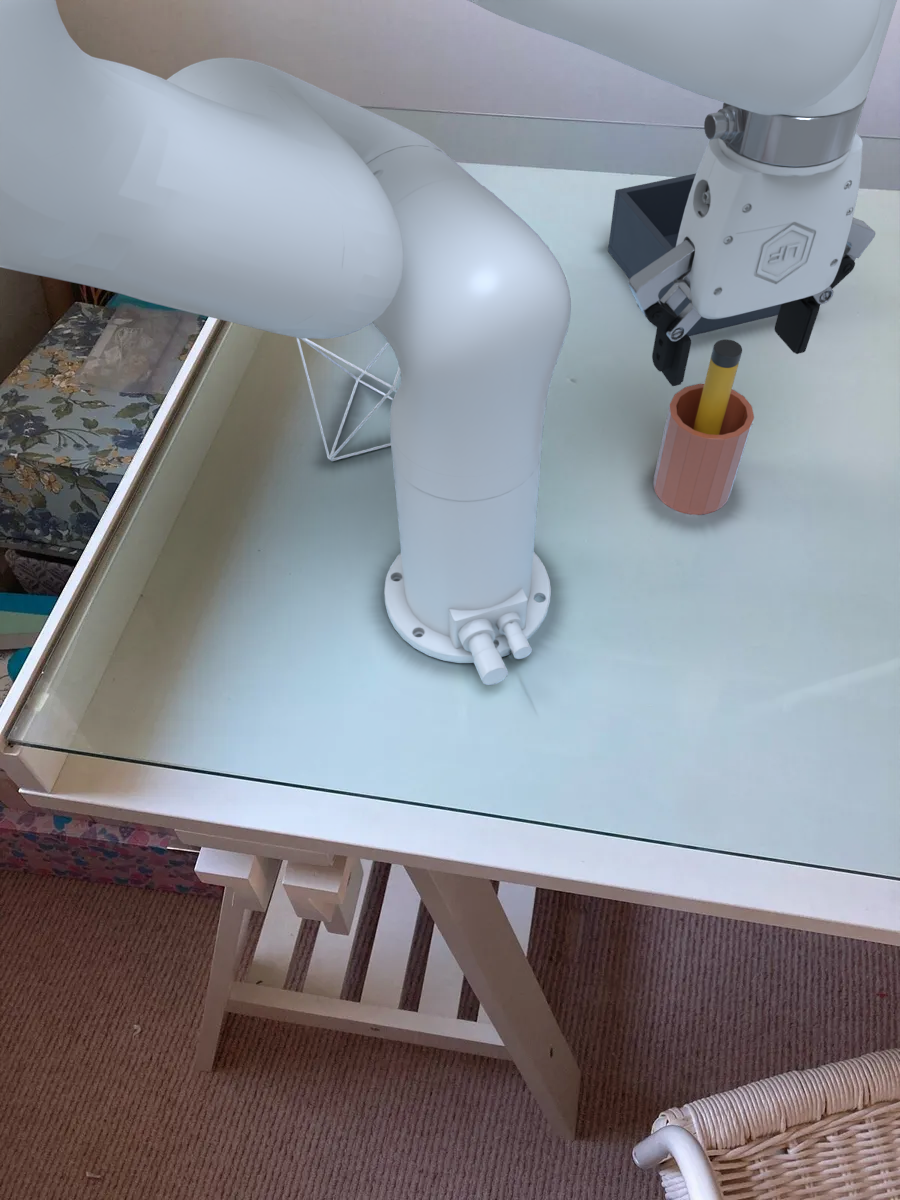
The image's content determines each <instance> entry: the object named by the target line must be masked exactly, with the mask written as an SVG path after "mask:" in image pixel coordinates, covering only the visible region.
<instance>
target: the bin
mask: <svg viewBox="0 0 900 1200" xmlns="http://www.w3.org/2000/svg"><path fill="white" fill-rule="evenodd" d="M696 173H697V172H695V173H691V174H686V175H680V176H677V177H672V178H666V179H662V180H657V181H653V182H647V183H642V184H637V185H634V186H628V187H624V188H619V189H615V191H614V200H613V207H612V216H611V223H610V224H611V225H610V232H609V238H608V239H609V240H608V245H607V252H608V253H609V254H610V256H611V257H612V258H613V259H614V261H615V262H616V263H617V264H618V266H619V267H620V269H621V270H622V271H623V272H624V273H625V275H626V276H627V278H628V279H629V280H630V278H631V277H632V276H634V275H635V274H637V273H638V272H640V271H641V270H642V269H644V268H645V267H647V266H648V265H650V264H651V263H653V262H654V261H656V260H657V259H659V258H660V257H661V256H663V255H664V254H666V253H667V252H669V251H670V250H672V249H673V248H675V247H676V243H677V239H678V234H679V230H680V226H681V222H682V218H683V214H684V210H685V207H686V203H687V200H688V197H689V193H690V190H691V187H692V184H693V181H694V178H695V175H696ZM674 284H675V283H674V282H671V283H670V284H668V285H667V286H665V287H664V288H663V289H661V291H660V292H659V295H658V296H659V299H660V300H661V298H662V297H663V296H664V295H665V294H666V293H667V292H668V290H669V289H670V288H671V287H672V286H673V285H674ZM689 303H690V300H689V299H688V298H687V297H686V298H685V299H684V300H683V302H682V303H681V304H680V305H679V306H678V307H677V308H676V309H675V311H674V312H675V313H676V314H677V316H678V315H679V314H680V313H681V312H682V311H683V310H684V309H685V308H686V307H687V305H688V304H689ZM780 307H781V304H779V305H775V306H771V307H767V308H763V309H759V310H755V311H751V312H747V313H743V314H739V315H735V316H730V317H726V318H721V319H707V318H704V317H701V318H700V319H699V320H698V321H697V322H696V323H695V325H694V326H693V327H692V328H691V329H690V330H689V331H688V332H687V335H688V336H689V337H693V336H697V335H700V334H701V335H702V334H705V333H709V332H713V331H717V330H723V329H726V328H731V327H734V326H739V325H742V324H746V323H747V324H748V323H751V322H755V321H759V320H764V319H768V318H771V317H776V316H778V314H779V310H780Z"/></svg>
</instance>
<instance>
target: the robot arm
mask: <svg viewBox="0 0 900 1200" xmlns="http://www.w3.org/2000/svg"><path fill="white" fill-rule="evenodd" d="M467 2H470V3H472V4H474V5H476V6H479V7H481V8H483V9H484V10H486V11H487V12H490V13H492V14H495V15H496V16H499V17H501V18H504V19H506V20H509V21H511V22H514V23H516V24H519V25H522V26H524V27H526V28H529V29H533V30H535V31H538V32H541V33H543V34H546V35H550V36H552V37H555V38H557V39H561V40H564V41H566V42H569V43H571V44H574V45H577V46H578V47H579V46H580V47H582V48H584V49H587V50H590V51H592V52H595V53H597V54H599V55H602V56H604V57H606V58H609V59H611V60H614V61H616V62H619V63H621V64H623V65H626V66H627V67H630V68H633V69H635V70H638V71H640V72H642V73H644V74H647V75H649V76H651V77H654V78H656V79H659V80H661V81H663V82H665V83H669V84H671V85H672V86H676V87H678V88H681V89H684V90H686V91H689V92H691V93H694V94H697V95H699V96H702V97H705V98H708V99H711V100H714V101H717V102H721V103H723V104H722V108H720V109H719V110H717V112H712V113H709V114H707V115H706V117H705V119H704V124H703V129H704V134H705V137H706V139H708V142H707V146H706V148H705V150H704V152H703V155H702V156H701V159H700V163H699V165H698V168H697V170H696V172H695V173H696V175H695V178H694V181H693V184H692V187H691V190H690V193H689V197H688V200H687V203H686V207H685V210H684V214H683V218H682V222H681V226H680V230H679V234H678V239H677V243H676V247H675V248H673V249H672V250H670V251H669V252H667V253H666V254H664V255H663V256H661V257H660V258H659V259H657V260H656V261H654V262H653V263H651V264H650V265H648V266H647V267H645V268H644V269H642V270H641V271H640V272H638V273H637V274H635V275H634V276H632V277H631V278H630V279H629V280H628V287H629V290H630V292H631V294H632V296H633V298H634V300H635V302H636V304H637V307H638V309H639V311H641V313H642V314H643V316H644V317H645V318H646V320H647V321H648V322H649V323H650V324H651V325H653V326H654V327H656V330H655V335H654V336H655V338H654V342H653V348H652V354H651V358H652V363H653V365H654V367H655V368H656V370H657V372H659V373H661V374H662V375H663V376H664V377H665V379H666V380H667V381H668V383H669V385H670V386H671V387H677V386H680V385H682V383H683V382H684V379H685V375H686V370H687V365H688V360H689V356H690V351H691V346H692V339H691V336H688V335H687V332H688V331H689V330H690V329H691V328H692V327H693V326H694V325H695V323H696V322H697V321H698V320H699V319H700V318H701V317H704V318H707V319H721V318H726V317H730V316H735V315H739V314H743V313H747V312H751V311H755V310H759V309H763V308H767V307H771V306H775V305H779V304H781V307H780V310H779V314H778V315H777V317H776V320H775V324H774V329H773V330H774V332H775V334H777V336H778V337H779V338H780V340H782V342H783V343H784V344H785V345H786V346H787V347H788V348H789V349H790V350H791V352H792V353H793V354H796V355H799V354H803V353H805V352H806V350H807V347H808V345H809V341H810V339H811V336H812V332H813V330H814V326H815V324H816V320H817V317H818V314H819V312H820V308H821V305H825V304H827V303H828V302H829V301H830V300H832V298H833V296H834V293H835V292H834V288H836V287H837V285H839V283H840V282H842V281H843V280H844V279H845V278H846V277H848V275H850V273H851V272H852V271H853V270H854V269H855V266H856V260H857V259H859V258H861V256H862V254H864V252H865V250H866V249H867V248H868V246H869V245H870V244H871V243H872V241H873V240H874V239H875V236H876V231H875V230H874V229H873V228H871V227H870V226H869V225H868V223H866V222H865V221H864V220H861V219H859V218H857V217H854V215H855V211H856V205H857V200H858V197H859V189H860V183H861V173H862V167H863V166H862V164H863V150H864V149H863V148H864V143H863V139H862V138H861V136H860V135H859V134H858V133H857V130H858V127H859V123H860V120H861V117H862V113H863V110H864V107H865V104H866V101H867V99H868V95H869V91H870V88H871V85H872V81H873V78H874V75H875V73H876V68H877V65H878V62H879V59H880V56H881V53H882V49H883V47H884V43H885V40H886V37H887V34H888V31H889V28H890V25H891V21H892V18H893V15H894V11H895V8H896V5H897V2H898V0H467ZM0 268H1V269H6V270H12V271H16V272H20V273H25V274H29V275H36V276H41V277H45V278H50V279H54V280H59V281H64V282H69V283H74V284H79V285H84V286H87V287H91V288H96V289H100V290H105V291H108V292H113V293H116V294H120V295H123V296H127V297H130V298H134V299H137V300H140V301H142V302H143V301H144V302H147V303H151V304H154V305H159V306H162V307H166V308H171V309H174V310H179V311H182V312H183V311H184V312H188V313H191V314H195V315H199V316H204V317H208V318H212V319H217V320H221V321H225V322H229V323H232V324H237V325H240V326H244V327H249V328H252V329H256V330H259V331H263V332H267V333H272V334H277V335H281V336H286V337H292V338H296V337H297V338H299V339H300V338H305V339H308V340H311V339H313V340H315V339H317V340H318V339H319V340H321V339H322V340H323V339H324V340H325V339H334V338H341V337H344V336H348V335H351V334H353V333H356V332H358V331H361V330H362V329H364V328H366V327H368V326H369V325H371V324H373V325H374V326H375V327H376V328H377V330H378V331H379V332H380V333H381V334H382V336H383V337H384V339H385V340H386V342H388V343H389V346H390V348H391V349H392V351H393V353H394V355H395V358H396V361H397V363H398V367H400V384H399V387H398V388H397V392H396V391H395V394H394V396H393V397H392V398H393V401H392V400H391V406H390V412H389V435H390V443H391V446H390V448H391V450H390V451H391V456H392V465H393V466H392V467H393V478H394V487H395V488H394V489H395V497H396V499H395V500H396V510H397V521H398V522H397V523H398V531H399V532H398V533H399V543H400V544H399V545H400V553H398V555H397V556H396V558H395V559H394V560H393V562H392V563H391V565H390V566H389V569H388V570H387V574H386V577H385V582H384V590H383V594H384V605H385V608H386V612H387V616H388V617H387V618H388V619H389V621H390V623H391V625H392V626H393V628H394V630H395V631H396V632H397V633H398V635H399V636H400V637H401V639H402V640H404V641H405V642H406V643H407V644H408V645H410V646H411V647H412V648H414V649H415V650H417V651H419V652H421V653H423V654H424V655H426V656H429V657H431V658H435V659H437V660H440V661H443V662H449V663H456V664H474V666H475V668H476V671H477V673H478V675H479V676H478V677H479V678H480V680H481V683H482V684H484V685H485V686H493V685H497V684H499V683H501V682H502V681H504V680H505V679H506V678H507V677H508V675H509V671H508V669H507V667H506V664H505V662H504V660H503V657H506V656H509V655H510V654H511V653H512V655H513V657H514V659H515V660H523V659H525V658H527V657H528V656H530V655H531V654H532V651H533V649H532V646H531V645H530V643H529V639H530V638H531V637H532V636H533V635H534V634H535V633H536V632H537V631H538V629H540V627H541V625H542V624H543V622H544V621H545V618H546V616H547V615H548V612H549V608H550V604H551V595H552V587H551V580H550V576H549V573H548V571H547V568H546V566H545V564H544V563H543V561H542V560H541V557H539V555H538V554H537V553H536V552H535V541H536V540H535V538H536V527H537V526H536V525H537V517H538V515H537V514H538V502H539V490H540V479H541V477H540V476H541V464H542V453H543V452H542V447H543V436H544V435H543V434H544V426H545V415H546V410H547V409H546V408H547V403H548V396H549V392H550V387H551V383H552V380H553V376H554V373H555V369H556V366H557V364H558V361H559V359H560V355H561V352H562V350H563V346H564V344H565V341H566V338H567V334H568V331H569V326H570V323H571V322H570V321H571V315H572V313H571V310H572V298H571V292H570V288H569V284H568V281H567V278H566V276H565V273H564V271H563V268H562V267H561V264H560V262H559V261H558V259H557V258H556V256H555V255H554V253H553V252H552V250H551V249H550V247H549V246H548V245H547V244H546V242H545V241H544V240H543V239H542V237H541V236H540V234H538V233H537V231H535V230H534V228H532V227H531V226H530V225H529V224H528V223H527V222H526V221H525V220H524V219H523V218H522V217H521V216H520V215H518V214H517V213H516V212H515V211H514V210H513V209H512V208H510V207H509V206H508V205H507V204H506V203H505V202H504V201H503V200H501V198H499V197H498V196H497V195H496V194H495V193H493V191H491V190H490V189H489V188H487V187H486V186H484V185H482V184H481V182H479V181H478V180H477V179H476V178H475V177H473V176H472V175H471V174H470V173H469V172H468V171H467V170H466V169H465V168H463V167H462V166H461V165H460V164H459V163H458V162H457V161H456V160H454V159H453V158H452V157H451V156H450V155H449V154H447V153H446V151H444V150H443V149H441V148H440V147H439V146H438V145H436V144H435V143H433V142H432V141H430V140H429V139H427V138H426V137H424V136H422V135H421V134H419V133H417V132H415V131H413V130H412V129H410V128H407V127H405V126H403V125H401V124H398V123H397V122H395V121H393V120H390V119H389V118H386V117H383V116H381V115H379V114H377V113H375V112H373V111H371V110H369V109H366V108H365V107H362V106H359V105H358V104H356V103H353V102H351V101H349V100H347V99H345V98H343V97H340V96H338V95H336V94H334V93H331V92H329V91H327V90H325V89H322V88H321V87H318V86H316V85H314V84H312V83H310V82H307V81H305V80H303V79H301V78H299V77H297V76H294V75H292V74H291V73H288V72H286V71H284V70H282V69H279V68H277V67H274V66H271V65H268V64H265V63H263V62H260V61H256V60H251V59H246V58H239V57H238V58H237V57H217V58H210V59H204V60H201V61H198V62H195V63H192V64H190V65H188V66H186V67H183V68H181V69H180V70H178V71H177V72H175V73H174V74H172V75H171V76H170V77H168V78H166V79H165V78H163V77H161V76H158V75H156V74H153V73H150V72H147V71H145V70H142V69H139V68H137V67H134V66H131V65H129V64H125V63H120V62H118V61H117V62H116V61H112V60H108V59H104V58H99V57H96V56H91V55H90V54H88V53H86V52H85V51H84V50H82V49H81V47H79V45H78V44H77V43H76V42H75V40H74V39H73V38H72V37H71V36H70V34H69V32H68V30H67V28H66V26H65V24H64V22H63V21H62V17H61V15H60V12H59V9H58V4H57V0H0ZM671 282H674V283H675V284H674V285H673V286H672V287H671V288H670V289H669V290H668V292H667V293H666V294H665V295H664V296H663V297H662V298H661V300H660V299H659V296H658V295H659V292H660V291H661V289H663V288H664V287H665V286H667V285H668V284H670V283H671ZM686 297H687V298H688V299H689V300H690V303H689V304H688V305H687V307H686V308H685V309H684V310H683V311H682V312H681V313H680V314H679V315H678V316H677V314H676V313H675V312H674V311H675V309H676V308H677V307H678V306H679V305H680V304H681V303H682V302H683V300H684V299H685V298H686ZM538 597H541V598H542V599H544V600H543V601H537V600H535V599H536V598H538ZM510 651H511V652H510Z"/></svg>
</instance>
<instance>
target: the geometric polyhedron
mask: <svg viewBox="0 0 900 1200" xmlns="http://www.w3.org/2000/svg"><path fill="white" fill-rule="evenodd" d="M295 338H296V342H297V347H298V350H299V354H300V358H301V362H302V365H303V369H304V373H305V377H306V380H307V384H308V388H309V392H310V396H311V400H312V403H313V407H314V411H315V416H316V418H317V423H318V427H319V430H320V434H321V438H322V442H323V446H324V450H325V453H326V457H327V459H328V461H331V462H334V461H337V460H341V459H346V458H349V457H350V458H351V457H353V456H358V455H360V454H365V453H367V452H371V451H375V450H379V449H383V448H387V447H391V442H389V443H385V444H381V445H379V446H374V447H371V448H367V449H362V450H359V451H355V452H351V453H347V454H344V455H340V456H337V455H338V454H339V453H340V451H342V449H343V448H344V447H345V446H346V445H347V443H349V441H350V440H351V439H352V438H353V437H354V435H356V433H357V432H358V431H359V430H360V429H361V427H363V425H364V424H365V423H366V422H367V421H368V420H369V419H370V418H371V417H372V416H373V414H374V413H375V412H376V411H377V410H378V409H379V407H381V405H382V404H383V403H384V402H385V401H386V400H387V399H389V400H391V402H392V401H393V398H394V397H391V396H390V395H391V394H392V393H393V392H395V393H396V392H397V390H398V388H397V382H398V380H399V377H400V375H401V371H400V367H399V366H398V367H397V370H396V373H395V377H394V380H393V383H392V385H391V384H390V383H389V382H386V381H385V380H382V379H380V378H379V377H377V376H375V375H374V374H371V373H370V372H368V371H369V369H370V368H371V367H372V365H373V364H374V363H375V362H376V361H377V360H378V358H379V357H380V356H381V355H382V354H383V352H384V351H385V350H386V349H387V348H388V346H390V344H389V343H388V341H386V343H384V345H383V346H382V348H381V349H380V350H379V352H377V354H376V355H375V356H374V357H373V359H372V360H371V361H370V363H368V365H367V366H366V368H365V369H362V368H361V367H360V366H358V365H355V364H354V363H352V362H350V361H348V360H346V359H345V358H343V357H341V356H339V355H337V354H336V353H334V352H332V351H330V350H328V349H326V348H324V347H323V346H321V345H319V344H317V343H316V342H314V341H312V340H311V339H305V338H297V337H295ZM301 341H302V342H304V343H305V344H307V345H308V346H309V347H310V348H312V349H314V351H316V352H318V353H319V354H320V355H322V356H323V357H324V358H325V359H327V360H328V361H329V362H331V363H332V364H333V365H335V366H336V367H337V368H339V369H340V370H342V371H343V372H344V373H346V374H347V375H348V376H350V377H352V378H353V379H354V380H355V383H354V386H353V389H352V392H351V394H350V397H349V400H348V403H347V405H346V409H345V411H344V413H343V417H342V420H341V423H340V426H339V428H338V431H337V434H336V437H335V439H334V443H333V445H332V448H331V451H330V452H329V448H328V445H327V441H326V440H327V439H326V437H325V432H324V429H323V426H322V425H323V424H322V421H321V418H320V413H319V409H318V406H317V403H316V402H317V401H316V398H315V394H314V391H313V387H312V383H311V378H310V376H309V375H310V374H309V372H308V366H307V363H306V360H305V356H304V353H303V348H302V345H301ZM324 352H325V353H324ZM326 353H327V354H328V355H327V354H326ZM329 355H330V356H332V357H334V358H336V359H338V360H339V361H341V362H343V363H345V364H347V365H348V366H350V367H352V368H353V369H356V370H357V371H359V372H361V374H360V375H359V376H356V375H354V374H353V373H351V372H350V371H348V369H346V368H345V367H343V366H342V365H340V364H339V363H338V362H337V361H335V360H334V359H333V358H331V357H330V356H329ZM364 375H366V376H368V377H370V378H372V379H373V380H375V381H376V382H378V383H381V384H383V385H384V386H386V387H388V388H389V390H388V391H387V392H386V393H385V392H383V391H381V390H379V389H377V388H375V387H374V386H372V385H370V384H369V383H367V382H365V381H363V380H361V379H362V378H363V376H364ZM359 383H361V384H362V385H363V386H366V387H367V388H369V389H371V390H373V391H374V392H376V393H378V394H380V395H381V396H383V397H382V398H381V399H380V400H379V401H378V402H377V404H376V405H375V406H374V407H373V408H372V410H371V411H369V413H368V414H367V415H366V416H365V417H364V419H362V421H361V422H360V423H359V424H358V425H357V426H356V427H355V429H354V430H352V432H351V433H350V434H349V435H348V437H347V438H346V439H345V440H344V441H343V442H342V443H341V445H340V446H339V447H338V448H337V449H336V447H337V445H338V441H339V439H340V436H341V434H342V430H343V427H344V425H345V422H346V419H347V416H348V413H349V411H350V407H351V404H352V403H353V399H354V396H355V393H356V390H357V387H358V384H359Z"/></svg>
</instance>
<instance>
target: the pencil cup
mask: <svg viewBox="0 0 900 1200" xmlns="http://www.w3.org/2000/svg"><path fill="white" fill-rule="evenodd" d="M703 387H704V383H696V384H692V385H688V386H685V387H683V388H682V389H680V390H679V391H677V392H676V393H674V395H673V397H672V398H671V400H670V402H669V406H668V409H667V413H666V415H667V416H666V420H665V425H664V428H663V434H662V438H661V441H660V447H659V452H658V456H657V462H656V465H655V471H654V476H653V489H654V493H655V494H656V496H657V498H658V499H659V500H660V501H661V502H662V504H664V505H665V506H666V507H668V508H670V509H671V510H674V511H676V512H679V513H682V514H685V515H693V516H701V515H708V514H712V513H714V512H716V511H719V510H720V509H722V508H723V507H724V506H725V505H726V504H727V503H728V501H729V498H730V496H731V494H732V491H733V490H732V489H733V488H734V484H735V481H736V478H737V474H738V472H739V469H740V465H741V461H742V458H743V456H744V453H745V448H746V446H747V442H748V440H749V436H750V433H751V430H752V427H753V423H754V419H755V414H754V408H753V405H752V404H751V403H750V402H749V401H748V399H747V398H746V397H745V396H744V395H743V394H741V393H740V392H738V391H736V390H735V389H733V388H732V390H731V394H730V397H729V401H728V404H727V408H726V412H725V415H724V419H723V422H722V426H721V430H720V433H719V435H712V434H705V433H702V432H699V431H695V430H693V428H694V424H695V420H696V416H697V412H698V408H699V404H700V400H701V396H702V391H703Z"/></svg>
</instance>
